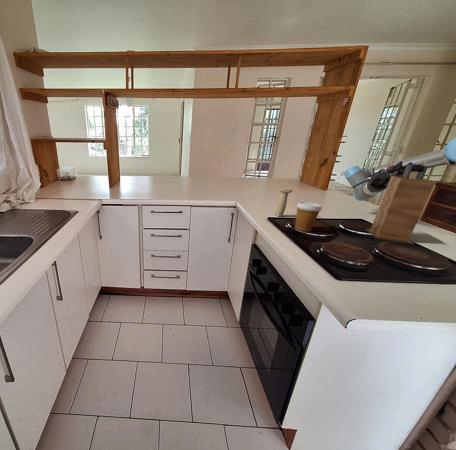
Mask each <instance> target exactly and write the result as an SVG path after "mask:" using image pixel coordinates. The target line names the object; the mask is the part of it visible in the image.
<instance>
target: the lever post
mask: <svg viewBox="0 0 456 450" xmlns="http://www.w3.org/2000/svg"><path fill="white" fill-rule="evenodd" d="M413 166H414V165H407V166H406V169H405V171H404V174H403V176H402V177H398V176H391V178H390V180H389V183H388V186H387V188H386V189H385V191H384V193H383V197H382V199H381V202H380V204H379V206H378V209H377V212H376V214H375V217H374V219H373V222H372V225H371V227H370V228H365V231H366V232H367V233H368V234H369V235H371V236H372V237H373V238H374V239H376V240H381V241H388V242H394V243H401V244H407V245H413V246H414V245H415V242H413V241H412V240H410V239H411V236H412V235H413V232H414V230H415V228H416V226H417V223H418V221H419V219H420V217H421V214H422V212H423V210H424V208H425V206H426V203H427V201H428V198H429V196H430V194H431V192H432V190H433V188H434V185H435V183H436V180H432V179H427V178H425V175H426V173H427V171H428V169H429V168H428V166H423V169H422V171H421V172H417V175H416V176H415V177H412V176H411V177H410V175H411V173H412V172H411V171H412V168H413ZM427 168H428V169H427Z"/></svg>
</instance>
